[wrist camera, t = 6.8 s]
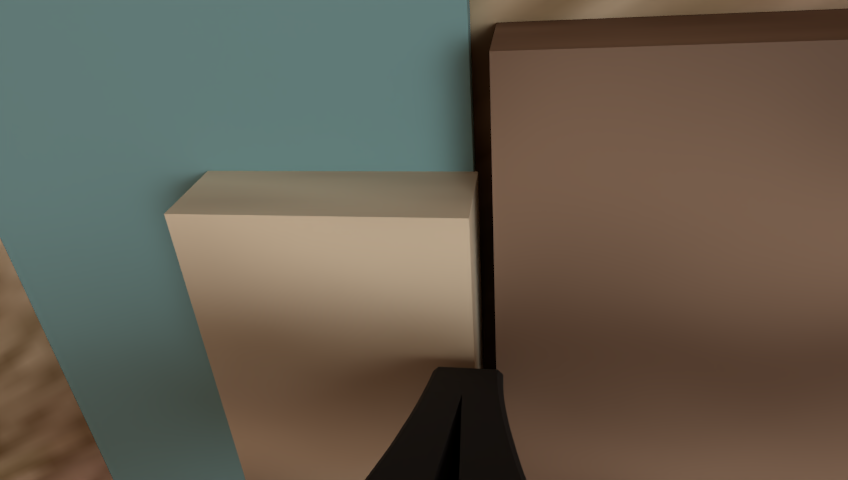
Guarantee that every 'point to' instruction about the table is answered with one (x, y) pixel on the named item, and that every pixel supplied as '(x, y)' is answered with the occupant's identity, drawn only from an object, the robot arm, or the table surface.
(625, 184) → the board
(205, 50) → the teal mat
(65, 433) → the table surface
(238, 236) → the block
